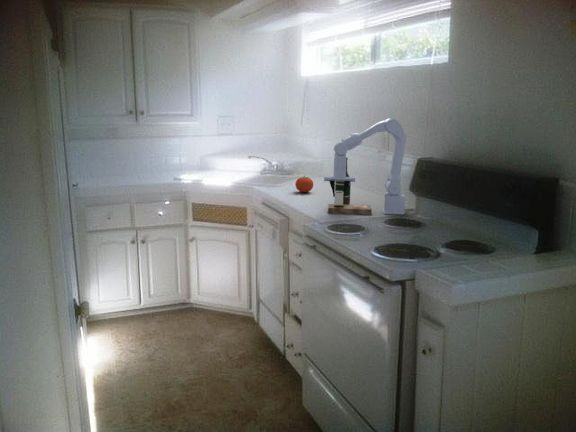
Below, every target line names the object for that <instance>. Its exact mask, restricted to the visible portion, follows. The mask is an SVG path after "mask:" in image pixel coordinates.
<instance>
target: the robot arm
mask: <svg viewBox="0 0 576 432" xmlns="http://www.w3.org/2000/svg"><path fill="white" fill-rule="evenodd" d="M386 132H387V133H388V134H390V136H391V137H392V138H393V139H394V145H393V150H392V158H391V163H390V164H391V165H390V169H389V170H390V171H389V175H388V177H387V179H386V181H385V184H384V187H385V188H384V189H385V190H386V192H385V191H384V203H383V209H381V210H382V213H383V214H384V215H405V205H406V196H405V194H401V191H402V184H401V172H402V166H403V160H404V155H405V148H406V141H407V136H406V133H405V131H404V128H403V125H402V123H401V122H400V121H398V119H396V118H391V117H389V118H386V119H385V120H382V121H379V122H376V123H375V124H374V125H372V126H370V127H368V128H367V129H365V130H364V131H362V132H360V133H357V132H355V133H353V132H352V133H351V134H350V136H348V137H346V138H342V139H341V141H338V142H336V143H335V145H334V147H333V150H334V158H333V176H323V182H329V186H330V187H331V192H332V197H333V198H335V181H342V182H344V191H343V197H345V193H346V190H347V187H348V185H349V182H351V183H355V182H356V177H355V176H354V177H353V176H352V177H346V157H347V153H348V151H351V150H353V149H355V148H356V147H358V146H360V145H362V142H363V140H365V139H367V138H369V137H371V136H372V135H375V134H377V133H386Z"/></svg>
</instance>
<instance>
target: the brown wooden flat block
mask: <svg viewBox="0 0 576 432" xmlns="http://www.w3.org/2000/svg"><path fill="white" fill-rule="evenodd" d="M327 209H328V210H327V214H338V215H339V214H340V215H363V216H365V215H368V216H369V215H372V211H373V210H372V207H371V205H368V204H366V205H365V204H349V205H344V204H343V205H336V204H333V203H329V204H328V205H327Z"/></svg>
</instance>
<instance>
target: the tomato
mask: <svg viewBox="0 0 576 432" xmlns="http://www.w3.org/2000/svg"><path fill="white" fill-rule="evenodd" d="M313 187H314V182H313V179H311V178H310V177H309V176H308V177H307V176H306V175H304V176H299V177H298V178H297V179H296V181H295V188H296V189H297V191H298V192H300V193H303V192H306V193H309V192H310V191H312V190H313Z"/></svg>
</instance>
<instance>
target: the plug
mask: <svg viewBox="0 0 576 432" xmlns="http://www.w3.org/2000/svg"><path fill="white" fill-rule="evenodd" d="M334 204H336V205H343V192H342V191H336V192H335V197H334Z"/></svg>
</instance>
